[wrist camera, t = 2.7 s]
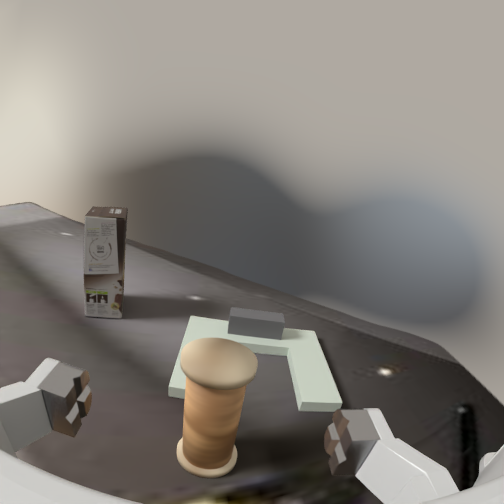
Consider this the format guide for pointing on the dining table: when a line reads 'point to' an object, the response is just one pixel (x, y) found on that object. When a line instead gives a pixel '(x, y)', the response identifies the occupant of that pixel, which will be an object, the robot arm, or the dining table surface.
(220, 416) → the bobbin
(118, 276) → the coffee box
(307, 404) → the notched board
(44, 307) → the dining table surface
